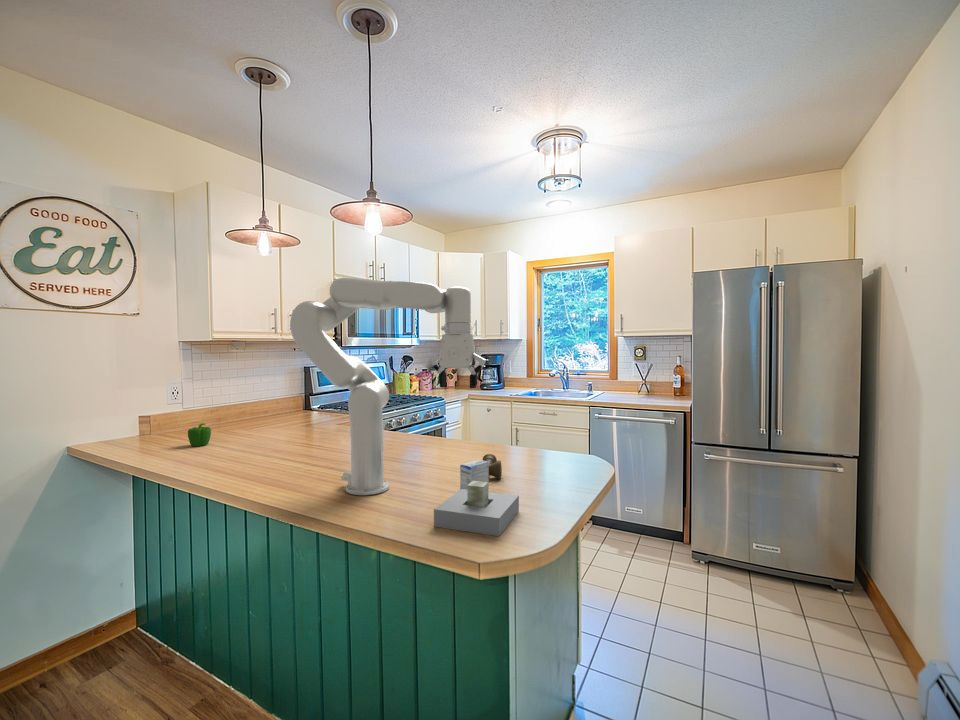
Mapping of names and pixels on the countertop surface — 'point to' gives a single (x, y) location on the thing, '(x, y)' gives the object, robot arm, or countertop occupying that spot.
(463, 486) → the medicine box
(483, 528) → the socket block
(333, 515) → the countertop surface
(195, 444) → the bell pepper
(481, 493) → the peg
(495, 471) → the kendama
